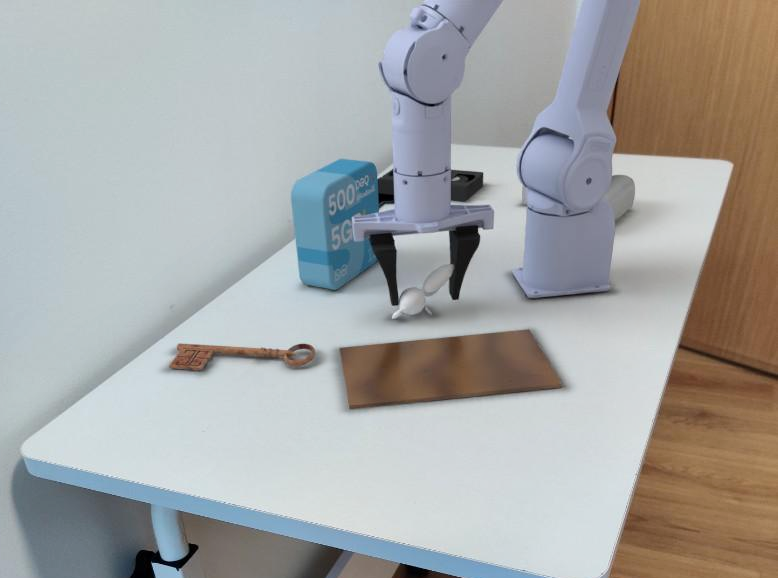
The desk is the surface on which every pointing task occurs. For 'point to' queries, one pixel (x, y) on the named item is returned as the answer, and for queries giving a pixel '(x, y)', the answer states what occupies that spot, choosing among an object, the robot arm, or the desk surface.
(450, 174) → the robot arm
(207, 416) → the desk surface
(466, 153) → the desk surface
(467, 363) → the brown wooden board
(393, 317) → the rabbit figurine
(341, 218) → the data package
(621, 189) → the infrared thermometer
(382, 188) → the vhs tape
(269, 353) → the key
